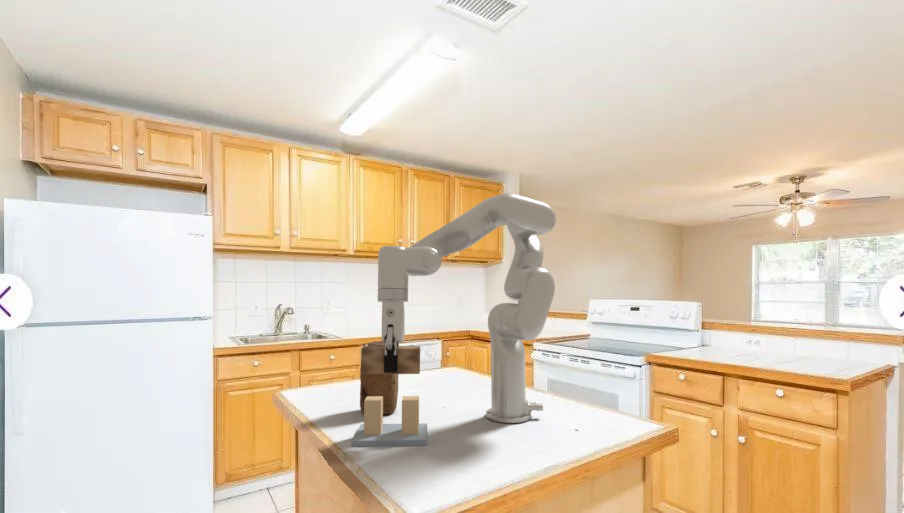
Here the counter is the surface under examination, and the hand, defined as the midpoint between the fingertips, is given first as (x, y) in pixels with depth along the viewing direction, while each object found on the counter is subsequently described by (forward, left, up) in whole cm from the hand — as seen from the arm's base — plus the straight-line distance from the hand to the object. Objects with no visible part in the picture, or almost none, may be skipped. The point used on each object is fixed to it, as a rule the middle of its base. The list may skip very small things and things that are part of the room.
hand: (391, 369), depth 109 cm
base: (0, 0, -16) cm, 16 cm away
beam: (0, 0, -1) cm, 1 cm away
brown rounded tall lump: (+6, -21, -16) cm, 27 cm away
